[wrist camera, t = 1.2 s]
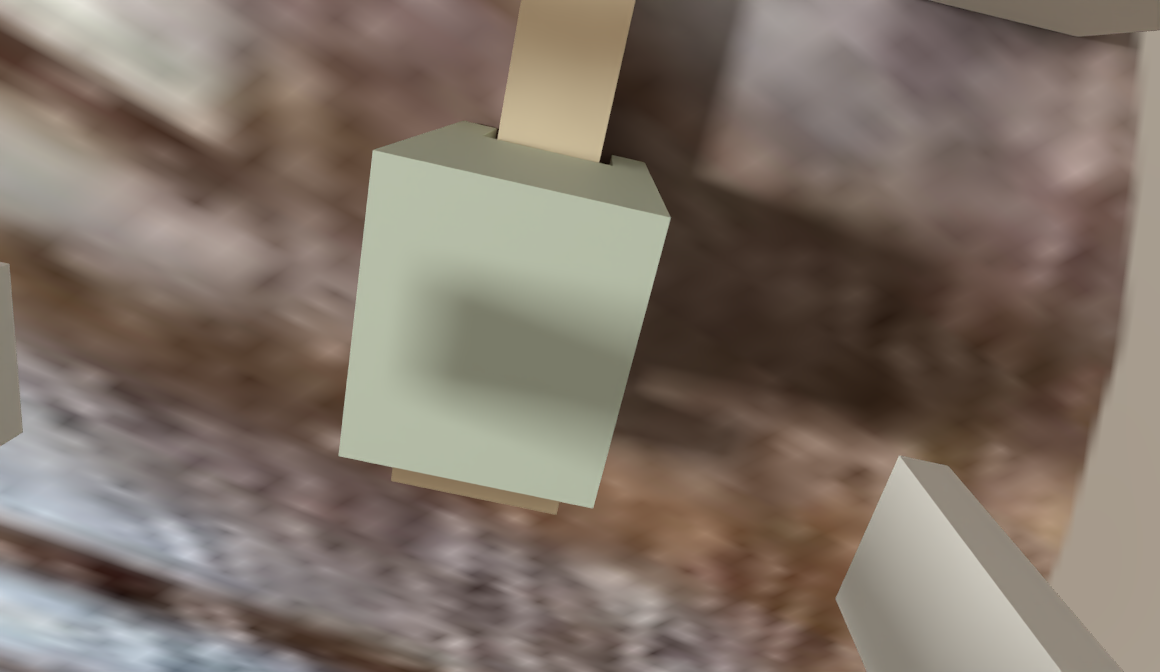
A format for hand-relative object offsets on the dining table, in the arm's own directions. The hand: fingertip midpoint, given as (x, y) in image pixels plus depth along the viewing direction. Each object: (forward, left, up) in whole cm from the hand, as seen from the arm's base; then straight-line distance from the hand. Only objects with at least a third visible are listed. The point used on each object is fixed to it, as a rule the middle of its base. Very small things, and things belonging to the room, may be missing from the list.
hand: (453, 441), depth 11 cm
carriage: (0, 0, -15) cm, 15 cm away
